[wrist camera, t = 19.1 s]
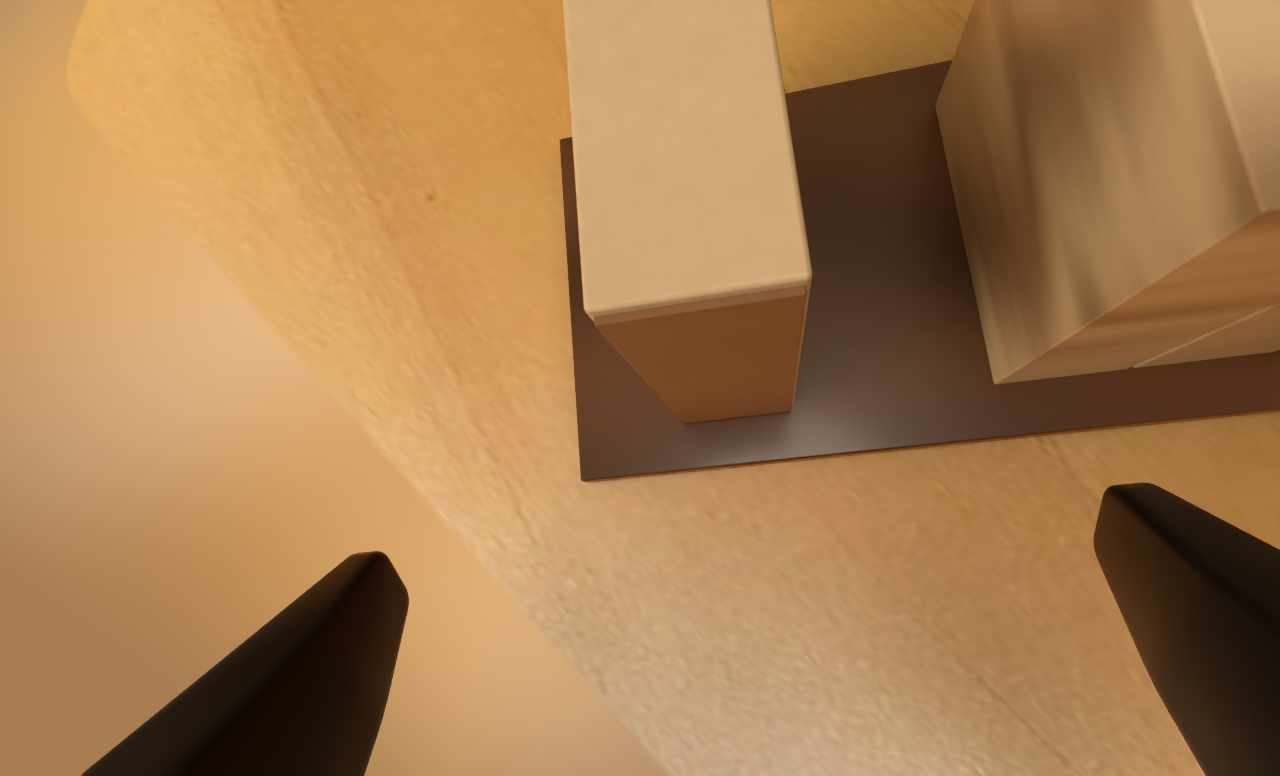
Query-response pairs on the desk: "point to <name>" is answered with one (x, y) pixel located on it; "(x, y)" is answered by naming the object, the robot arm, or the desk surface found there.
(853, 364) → the book rack
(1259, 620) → the robot arm
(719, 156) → the cream book
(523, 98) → the desk surface
